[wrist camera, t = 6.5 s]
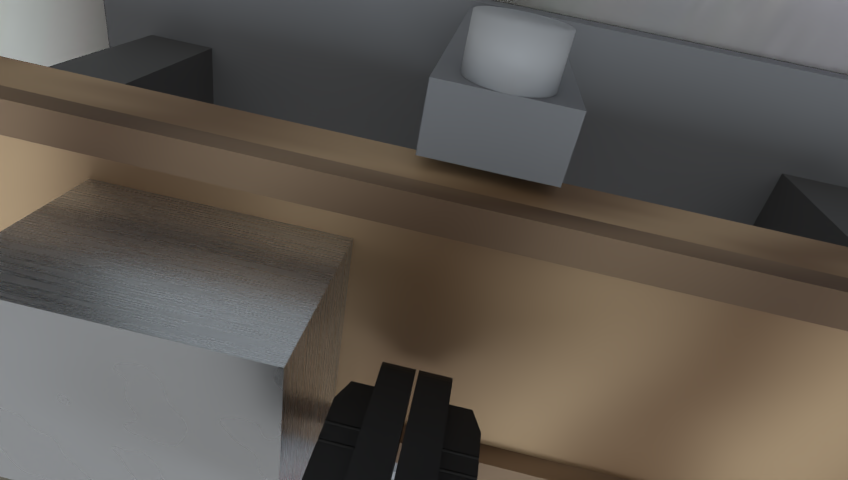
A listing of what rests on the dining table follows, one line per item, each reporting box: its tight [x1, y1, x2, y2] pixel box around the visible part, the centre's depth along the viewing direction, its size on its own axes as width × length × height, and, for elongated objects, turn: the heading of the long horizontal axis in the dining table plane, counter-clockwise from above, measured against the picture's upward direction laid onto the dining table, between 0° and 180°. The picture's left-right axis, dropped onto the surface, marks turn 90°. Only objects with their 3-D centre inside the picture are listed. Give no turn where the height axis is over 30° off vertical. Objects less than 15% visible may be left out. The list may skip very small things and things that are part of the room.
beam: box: [0, 56, 848, 480], centre depth 13 cm, size 32×8×3 cm, turn 80°
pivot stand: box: [50, 0, 848, 480], centre depth 18 cm, size 30×14×11 cm, turn 80°
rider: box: [0, 179, 353, 480], centre depth 12 cm, size 6×5×4 cm
